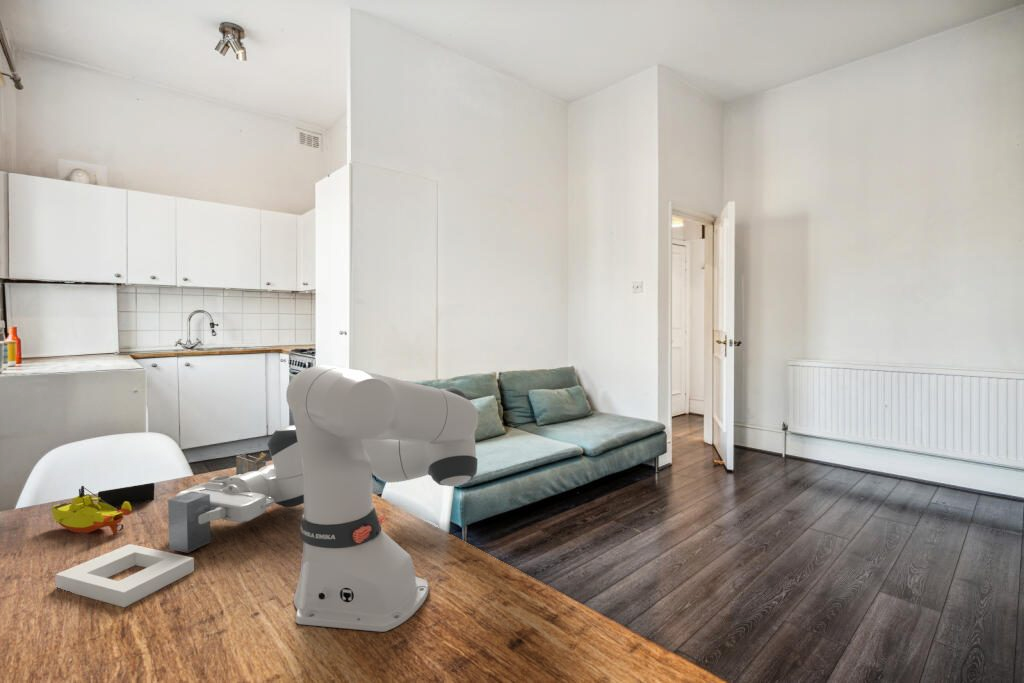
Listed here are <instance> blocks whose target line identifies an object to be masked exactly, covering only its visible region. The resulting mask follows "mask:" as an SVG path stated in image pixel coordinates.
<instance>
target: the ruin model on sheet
mask: <svg viewBox="0 0 1024 683" xmlns="http://www.w3.org/2000/svg"><path fill="white" fill-rule="evenodd" d="M246 456H247V457H246ZM266 456H267V453H264V451H262V452H261V453H259V457H255V456H251V455H247V454H246V453H244V454H240V455H236V456H235V462H236V463H235V467H236V468H235V470H236V471H235V473H236V475H239V474H241V475H242V474H245V473H247V472H251V471H258V470H259V469H260V468H262V467H264V466H267V461H266V460H263V459H264V458H265V457H266Z"/></svg>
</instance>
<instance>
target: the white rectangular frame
mask: <svg viewBox="0 0 1024 683" xmlns="http://www.w3.org/2000/svg"><path fill="white" fill-rule="evenodd" d="M134 566H138V567H142V568H144V569H141V570H139V571H137V572H134V573H133V574H130V575H128V576H126V577H125V578H122V579H120V580H116V579H112V578H110V577H112V576H114V575H117V574H119V573H121V572H123V571H125V570H127V569H130V568H132V567H134ZM194 572H195V558H194V557H191V556H187V555H182V554H177V553H174V552H168V551H164V550H158V549H156V548H154V549H153V548H150V547H145V546H141V545H136V544H132V543H128V544H126V545H124V546H122V547H119V548H116V549H114V550H112V551H109V552H106V553H104V554H102V555H99V556H97V557H94V558H92V559H90V560H88V561H85V562H82V563H80V564H76V565H75V566H72V567H70V568H68V569H65V570H63V571H59V572H57V573H55V588H56V587H58V588H61V589H64V590H66V591H65V592H67V591H70V592H69V593H71V592H72V594H75V595H79V596H82V597H86V598H89V599H93V600H96V601H100V602H103V603H108V604H111V605H114V606H118V607H121V608H126V607H128V606H130V605H132V604H134V603H135V602H138V601H140V600H142V599H144V598H145V597H147V596H149V595H151V594H153V593H155V592H157V591H159V590H160V589H162V588H164V587H167V586H168V585H170V584H172V583H174V582H176V581H178V580H179V579H182V578H183V577H186V576H187V575H189V574H191V573H194ZM64 590H63V591H64Z"/></svg>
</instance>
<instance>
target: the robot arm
mask: <svg viewBox="0 0 1024 683" xmlns="http://www.w3.org/2000/svg"><path fill="white" fill-rule="evenodd" d="M285 395H286V402H287V405H288V407H289V409H290V412H291V415H292V419H293V422H294V423H293V425H292V424H291V425H286V426H283V427H281V428H278V429H276V430H275V431H273V434H272V435H271V436H270V439H269V441H268V442H267V447H268V450H269V454H270V458H271V460H272V463H270V464H268V465H267V464H266V466H264V467H262V468H260V469H259V470H258V471H251V472H247V473H245V474H242V475H241V474H239V475H231V476H230V475H229V476H214V477H212V478H210V479H209V482H203V483H200V484H197V485H195V486H191V487H189V488H187V489H184V490H182V491H180V492H178V493H176V494H175V495H174V497H173V498H175V497H178V496H180V495H183V494H186V493H189V492H199V493H205V494H210V511H208V512H201V513H199V514H196V515H195V523H199V524H203V523H206V522H208V521H210V522H213V521H219V520H220V521H221V520H223V521H230V522H235V523H240V524H241V523H246V522H250V521H251V520H253V519H255V518H257V517H259V516H260V515H262V514H263V513H265V512H266V510H267V508H268V507H270V506H273V505H274V504H276V505H279V506H282V507H284V508H293V507H296V506H300V505H303V513H302V514H301V517H300V518H301V520H300V523H301V524H300V538H301V540H302V541H303V542H302V543H303V545H302V546H303V547H302V556H301V566H300V571H299V572H300V573H299V578H298V582H297V587H296V591H295V594H294V596H293V604H294V606H295V608H296V616H295V622H296V624H298V625H307V626H319V627H325V628H326V627H327V628H339V629H347V630H348V629H349V630H360V631H371V632H379V633H380V632H381V633H382V632H388V631H390V630H393V629H395V628H397V627H398V626H400V625H402V624H403V623H404V622H406V621H407V620H409V619H410V618H411V617H412V616H414V614H415V613H416V612H417V611H418V610H419V608H420V607H421V606H422V605H423V604H424V602H425V601H426V599H427V597H428V595H429V590H430V588H429V583H428V581H427V579H424V578H421V577H418V576H417V575H416V572H415V566H414V561H413V558H412V556H411V554H410V553H408V552H407V551H406V550H404V548H402V547H401V546H400V545H399V544H398V543H397V542H396V541H394V539H392V538H391V537H390V536H389V535H388V534H386V532H384V531H383V530H382V525H381V524H382V523H384V522H386V521H387V518H385V517H386V516H387V514H386V513H385V514H382V515H381V516H380V517H378V514H377V511H376V509H375V507H374V505H373V476H375V477H376V478H377V479H379V480H381V481H382V482H385V483H387V484H388V483H399V482H400V483H401V482H405V481H411V480H414V479H418V478H422V477H425V476H430V477H431V479H432V481H434V482H435V483H436V484H438V485H439V486H446V487H457V486H461V485H464V484H465V483H467V482H470V481H471V480H472V479H473V478H474V477H475V476H476V475H477V471H478V458H477V455H476V454H477V450H476V449H477V448H476V447H477V446H476V436H475V431H476V429H477V427H478V425H479V424H478V422H479V414H478V410H477V408H476V406H475V404H474V403H473V402H471V400H469V399H468V398H467V396H466V394H465V393H464V392H463V391H461V390H460V389H457V388H453V387H452V388H451V387H448V388H447V387H445V388H437V387H433V386H428V385H423V384H421V383H420V384H419V383H415V382H412V381H411V382H410V381H404V380H402V379H398V378H393V377H389V376H386V375H381V374H377V373H373V372H368V371H365V370H358V369H353V368H346V367H341V366H340V367H339V366H334V365H330V364H329V365H328V364H319V365H315V366H311V367H308V368H306V369H303V370H301V371H299V372H298V373H297V374H295V375H294V376H293V377H292V378H291V379H290V381H289V384H288V385H287V387H286V394H285Z"/></svg>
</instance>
